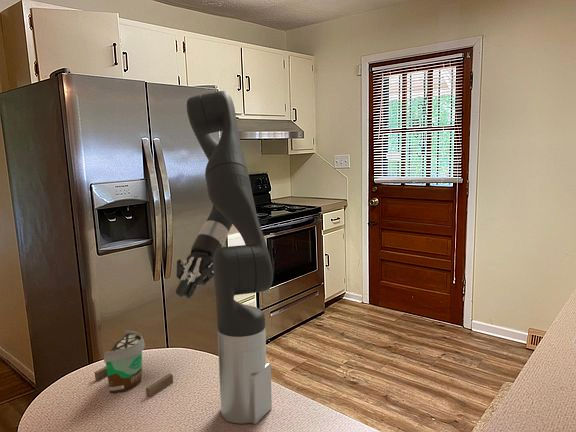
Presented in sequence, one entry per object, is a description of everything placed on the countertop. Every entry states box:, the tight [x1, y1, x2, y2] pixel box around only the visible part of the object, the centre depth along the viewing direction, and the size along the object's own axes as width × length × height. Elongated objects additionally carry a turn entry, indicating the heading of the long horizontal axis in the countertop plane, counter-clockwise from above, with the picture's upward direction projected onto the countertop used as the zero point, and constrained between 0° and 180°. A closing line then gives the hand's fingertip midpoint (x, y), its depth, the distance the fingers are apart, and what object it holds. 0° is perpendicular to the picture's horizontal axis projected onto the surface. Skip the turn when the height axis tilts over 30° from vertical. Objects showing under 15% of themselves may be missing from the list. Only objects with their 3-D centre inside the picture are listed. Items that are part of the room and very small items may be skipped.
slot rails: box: [94, 365, 174, 399], centre depth 99 cm, size 17×7×2 cm, turn 62°
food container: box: [103, 330, 146, 395], centre depth 98 cm, size 12×6×10 cm, turn 179°
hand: (182, 295), depth 113 cm, fingers closed
